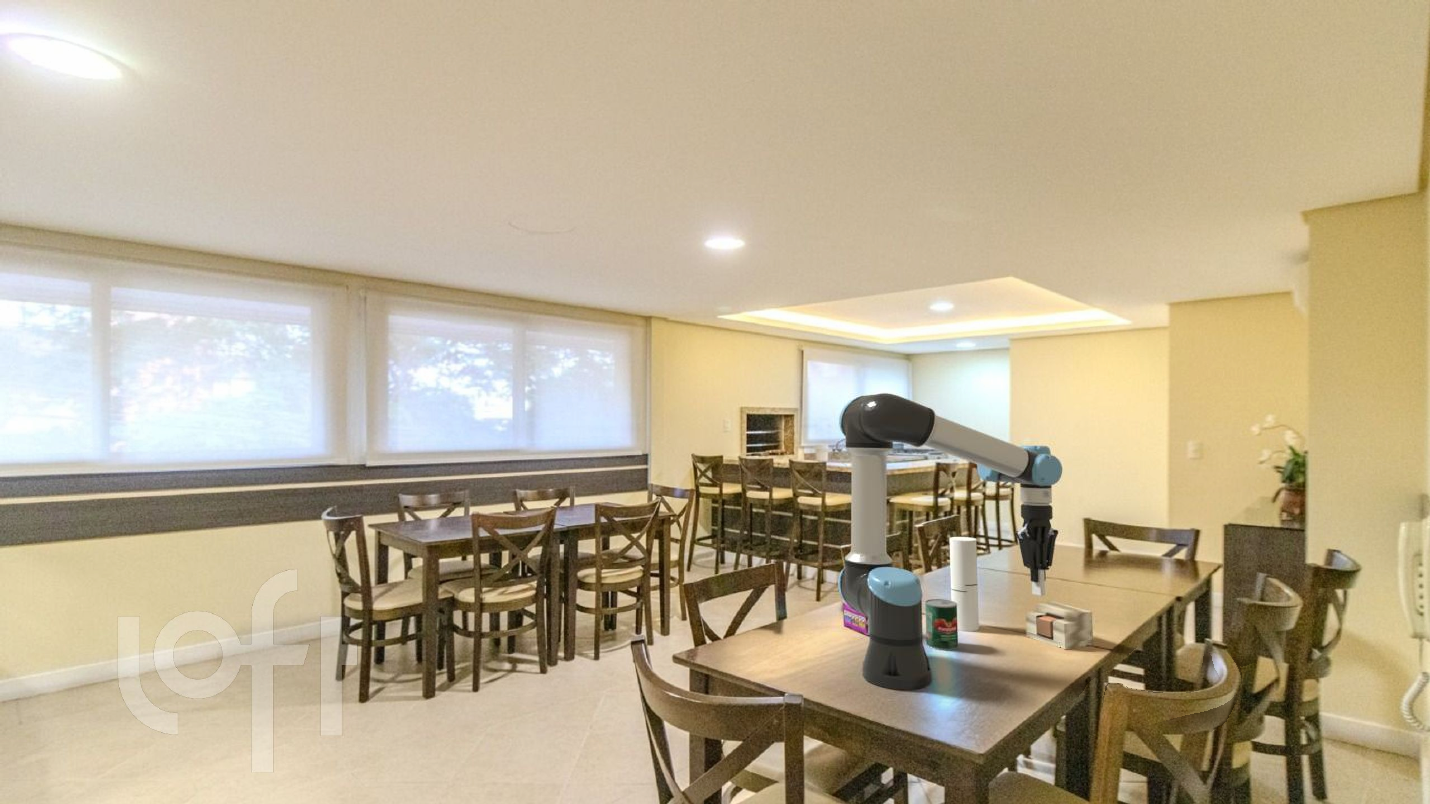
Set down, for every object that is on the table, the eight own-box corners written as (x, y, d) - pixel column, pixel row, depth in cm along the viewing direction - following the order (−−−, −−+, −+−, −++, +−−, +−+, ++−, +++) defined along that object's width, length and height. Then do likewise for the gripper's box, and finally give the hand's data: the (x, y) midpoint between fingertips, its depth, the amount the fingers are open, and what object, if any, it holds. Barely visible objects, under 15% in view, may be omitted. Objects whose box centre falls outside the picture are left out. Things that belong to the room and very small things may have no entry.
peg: (1050, 637, 168) (1049, 621, 169) (1037, 633, 172) (1036, 617, 172) (1078, 632, 172) (1077, 617, 172) (1064, 628, 176) (1064, 613, 176)
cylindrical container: (983, 631, 181) (980, 540, 182) (957, 631, 181) (954, 540, 183) (973, 624, 188) (970, 536, 190) (948, 624, 188) (946, 537, 190)
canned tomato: (946, 652, 164) (945, 608, 164) (919, 644, 170) (918, 602, 171) (964, 646, 168) (963, 603, 169) (938, 639, 175) (937, 597, 175)
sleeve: (1065, 649, 165) (1063, 616, 165) (1026, 636, 176) (1025, 605, 176) (1093, 644, 169) (1091, 611, 169) (1053, 632, 180) (1052, 601, 180)
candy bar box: (881, 634, 180) (880, 573, 180) (867, 636, 177) (865, 575, 178) (856, 623, 190) (855, 566, 191) (842, 625, 188) (841, 568, 188)
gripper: (1029, 506, 166) (1031, 599, 165) (1066, 504, 171) (1069, 595, 169) (1006, 503, 173) (1008, 593, 172) (1042, 501, 178) (1044, 589, 176)
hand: (1038, 594), depth 171 cm, fingers closed
